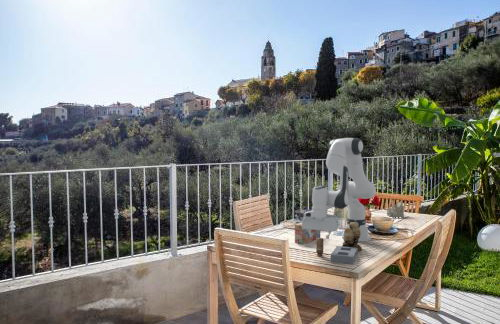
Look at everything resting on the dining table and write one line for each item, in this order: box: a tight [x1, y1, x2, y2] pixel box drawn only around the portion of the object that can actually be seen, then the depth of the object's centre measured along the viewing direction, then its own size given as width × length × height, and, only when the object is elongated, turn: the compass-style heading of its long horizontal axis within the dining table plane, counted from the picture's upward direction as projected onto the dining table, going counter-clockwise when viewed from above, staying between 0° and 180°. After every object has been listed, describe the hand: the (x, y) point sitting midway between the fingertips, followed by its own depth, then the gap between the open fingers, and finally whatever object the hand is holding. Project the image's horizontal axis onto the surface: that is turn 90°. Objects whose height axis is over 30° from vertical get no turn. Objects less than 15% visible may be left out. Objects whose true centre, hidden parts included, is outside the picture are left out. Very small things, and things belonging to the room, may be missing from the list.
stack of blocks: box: [294, 222, 321, 245], centre depth 265 cm, size 21×6×12 cm, turn 138°
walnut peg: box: [315, 237, 324, 258], centre depth 228 cm, size 4×4×10 cm
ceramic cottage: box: [386, 200, 405, 217], centre depth 348 cm, size 16×16×15 cm
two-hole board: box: [330, 245, 359, 265], centre depth 223 cm, size 20×12×4 cm, turn 158°
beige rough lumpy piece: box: [341, 222, 363, 253], centre depth 241 cm, size 18×12×17 cm, turn 146°
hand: (319, 237), depth 228 cm, fingers open, 8 cm apart
